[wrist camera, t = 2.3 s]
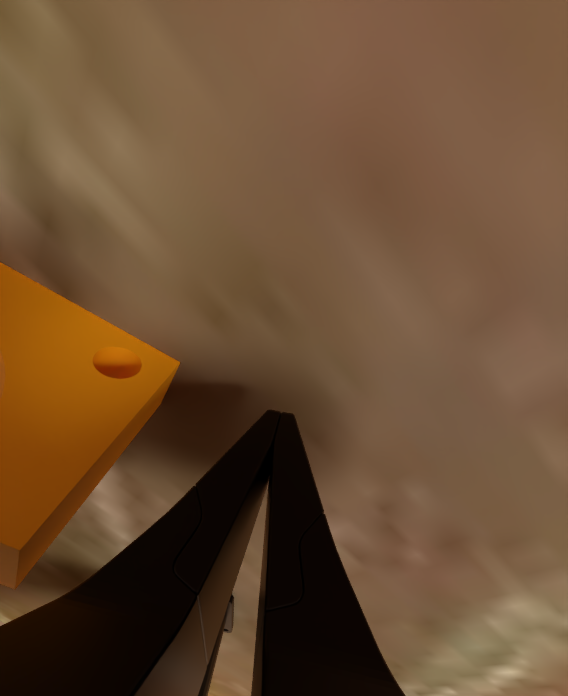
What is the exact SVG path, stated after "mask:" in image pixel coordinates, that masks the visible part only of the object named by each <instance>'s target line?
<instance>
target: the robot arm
mask: <svg viewBox="0 0 568 696" xmlns="http://www.w3.org/2000/svg"><path fill="white" fill-rule="evenodd" d="M268 481H269V485H268ZM267 485H268V495H267V508H266V520H265V532H264V545H263V557H262V569H261V582H260V594H259V606H258V618H257V631H256V643H255V655H254V668H253V681H252V692H251V696H405V694H404V693H403V691H402V690H401V688H400V687H399V685H398V684H397V682H396V680H395V679H394V677H393V675H392V673H391V671H390V670H389V668H388V666H387V664H386V662H385V660H384V658H383V656H382V654H381V652H380V650H379V648H378V646H377V643H376V641H375V639H374V637H373V634H372V632H371V630H370V627H369V625H368V623H367V620H366V618H365V616H364V614H363V611H362V609H361V607H360V604H359V602H358V600H357V597H356V595H355V593H354V590H353V588H352V586H351V583H350V581H349V579H348V577H347V574H346V572H345V569H344V567H343V564H342V562H341V559H340V557H339V554H338V552H337V549H336V546H335V543H334V540H333V537H332V534H331V532H330V529H329V525H328V522H327V519H326V516H325V514H323V513H324V510H323V506H322V503H321V500H320V497H319V493H318V490H317V487H316V484H315V480H314V477H313V474H312V471H311V467H310V464H309V461H308V458H307V454H306V451H305V448H304V445H303V441H302V438H301V435H300V431H299V428H298V425H297V422H296V418H295V416H294V414H290V413H285V412H282V413H280V412H279V411H274V410H267V411H266V412H265V413H264V414H263V415H262V416H261V417H260V418H259V420H258V421H257V422H256V423H255V424H254V425H253V426H252V427H251V428H250V429H249V430H248V431H247V432H246V433H245V434H244V435H243V436H242V437H241V438H240V439H239V440H238V441H237V442H236V443H235V444H234V445H233V446H232V447H231V448H230V449H229V450H228V451H227V452H226V453H225V454H224V455H223V457H222V458H221V459H220V460H219V461H218V462H217V463H216V464H215V465H214V466H213V467H212V468H211V469H210V470H209V471H208V472H207V473H206V474H205V475H204V476H203V477H202V478H201V479H200V480H199V481H198V482H197V483H196V486H193V487H192V488H191V489H190V490H189V491H188V492H187V493H186V494H185V495H184V496H183V497H182V498H181V499H180V500H179V501H178V502H177V503H176V504H175V505H174V506H173V507H172V508H171V509H170V510H169V511H168V512H167V513H166V514H165V515H164V516H162V517H161V518H160V519H159V520H158V521H157V522H156V523H154V524H153V525H152V526H151V527H150V528H149V529H148V530H146V531H145V532H144V533H143V534H142V535H140V536H139V537H138V538H137V539H136V540H134V541H133V542H132V543H131V544H130V545H128V546H127V547H126V548H125V549H124V550H123V551H121V552H120V553H119V554H118V555H117V556H115V557H114V558H113V559H112V560H111V561H109V562H108V563H107V564H106V565H105V566H103V567H102V568H101V569H100V570H99V571H97V572H96V573H95V574H94V575H93V576H91V577H90V578H89V579H87V580H86V581H85V582H83V583H82V584H81V585H79V586H78V587H76V588H74V589H73V590H71V591H70V592H68V593H66V594H65V595H63V596H61V597H60V598H58V599H56V600H54V601H52V602H50V603H48V604H45V605H43V606H41V607H39V608H37V609H35V610H33V611H31V612H29V613H27V614H25V615H23V616H21V617H18V618H16V619H14V620H12V621H10V622H8V623H6V624H4V625H2V626H0V696H207V695H208V691H209V687H210V683H211V679H212V675H213V671H214V667H215V663H216V659H217V655H218V651H219V647H220V643H221V639H222V635H223V632H227V633H231V632H232V628H233V615H234V597H233V596H232V595H231V594H232V591H233V588H234V585H235V582H236V579H237V576H238V573H239V570H240V567H241V564H242V561H243V558H244V555H245V552H246V549H247V546H248V543H249V539H250V536H251V533H252V530H253V527H254V524H255V521H256V518H257V515H258V512H259V509H260V506H261V503H262V500H263V497H264V494H265V491H266V488H267Z"/></svg>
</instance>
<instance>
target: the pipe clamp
mask: <svg viewBox="0 0 568 696" xmlns="http://www.w3.org/2000/svg"><path fill="white" fill-rule="evenodd" d="M179 365H180V362H179V361H177V360H175V359H173V358H171V357H170V356H168V355H166V354H164V353H163V352H161V351H159V350H157V349H155V348H154V347H152V346H150V345H148V344H146V343H145V342H143V341H141V340H139V339H137V338H136V337H134V336H132V335H130V334H128V333H127V332H125V331H123V330H121V329H119V328H118V327H116V326H114V325H112V324H110V323H109V322H107V321H105V320H103V319H101V318H100V317H98V316H96V315H94V314H92V313H91V312H89V311H87V310H85V309H83V308H82V307H80V306H78V305H76V304H75V303H73V302H71V301H69V300H67V299H66V298H64V297H62V296H60V295H58V294H57V293H55V292H53V291H51V290H49V289H48V288H46V287H44V286H42V285H40V284H39V283H37V282H35V281H33V280H31V279H30V278H28V277H26V276H24V275H22V274H21V273H19V272H17V271H15V270H13V269H12V268H10V267H8V266H6V265H4V264H3V263H1V262H0V584H1V585H4V586H6V587H9V588H12V589H14V590H15V589H16V588H17V587H18V585H19V584H20V583H21V581H22V580H23V579H24V578H25V576H26V575H27V574H28V573H29V571H30V570H31V569H32V567H33V566H34V565H35V564H36V562H37V561H38V560H39V558H40V557H41V556H42V555H43V553H44V552H45V551H46V550H47V548H48V547H49V546H50V544H51V543H52V542H53V541H54V539H55V538H56V537H57V536H58V534H59V533H60V532H61V530H62V529H63V528H64V527H65V525H66V524H67V523H68V522H69V520H70V519H71V518H72V516H73V515H74V514H75V513H76V511H77V510H78V509H79V508H80V506H81V505H82V504H83V502H84V501H85V500H86V499H87V497H88V496H89V495H90V494H91V492H92V491H93V490H94V488H95V487H96V486H97V485H98V483H99V482H100V481H101V480H102V478H103V477H104V476H105V474H106V473H107V472H108V471H109V469H110V468H111V467H112V466H113V464H114V463H115V462H116V460H117V459H118V458H119V457H120V455H121V454H122V453H123V451H124V450H125V449H126V448H127V446H128V445H129V444H130V443H131V441H132V440H133V439H134V437H135V436H136V435H137V434H138V432H139V431H140V430H141V429H142V427H143V426H144V425H145V423H146V422H147V421H148V420H149V418H150V417H151V416H152V415H153V413H154V412H155V411H156V409H157V408H158V407H159V406H160V404H161V402H162V400H163V398H164V396H165V394H166V392H167V390H168V388H169V385H170V383H171V381H172V379H173V377H174V375H175V373H176V371H177V369H178V367H179Z"/></svg>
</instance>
